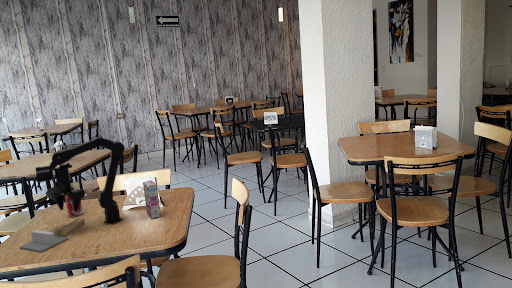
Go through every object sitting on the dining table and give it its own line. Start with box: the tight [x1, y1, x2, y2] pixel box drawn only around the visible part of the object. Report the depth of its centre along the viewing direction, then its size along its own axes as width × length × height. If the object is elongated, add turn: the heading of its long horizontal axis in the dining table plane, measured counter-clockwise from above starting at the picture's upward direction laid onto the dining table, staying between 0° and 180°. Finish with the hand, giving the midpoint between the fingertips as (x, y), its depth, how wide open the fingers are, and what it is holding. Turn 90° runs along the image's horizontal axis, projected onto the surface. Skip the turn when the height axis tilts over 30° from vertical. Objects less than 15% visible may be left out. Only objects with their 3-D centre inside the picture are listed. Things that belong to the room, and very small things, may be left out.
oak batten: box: [56, 217, 86, 237], centre depth 183 cm, size 3×14×3 cm, turn 164°
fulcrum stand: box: [19, 229, 69, 254], centre depth 169 cm, size 14×13×5 cm
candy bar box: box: [142, 179, 162, 220], centre depth 193 cm, size 11×5×16 cm, turn 27°
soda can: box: [64, 195, 84, 218], centre depth 203 cm, size 7×7×12 cm
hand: (68, 210), depth 181 cm, fingers open, 9 cm apart
